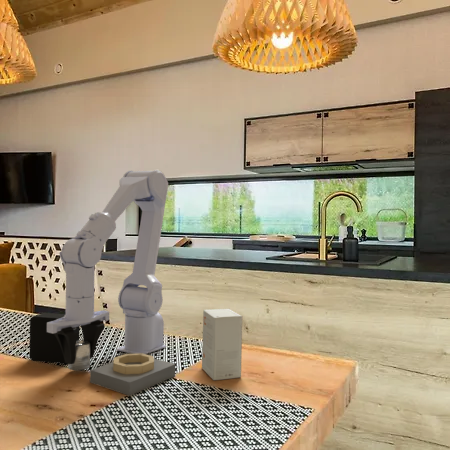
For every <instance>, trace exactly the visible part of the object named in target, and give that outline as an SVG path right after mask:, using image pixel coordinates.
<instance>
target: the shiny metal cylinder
mask: <svg viewBox="0 0 450 450" xmlns="http://www.w3.org/2000/svg"><path fill="white" fill-rule="evenodd" d="M67 368H68V369H69V371H76V372H77V371H84V370H88V369H89V368H91V358H90V342H89V341H84V340H83V339H82V340H80V339H79V341H76V346H75V361H74V364H67Z"/></svg>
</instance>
